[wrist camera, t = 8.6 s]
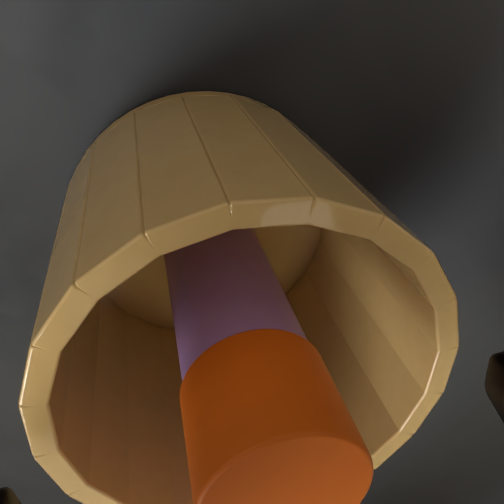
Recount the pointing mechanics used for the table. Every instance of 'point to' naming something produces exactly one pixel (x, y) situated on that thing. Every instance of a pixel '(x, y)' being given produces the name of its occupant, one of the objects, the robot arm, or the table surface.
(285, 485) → the glue stick
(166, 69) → the table surface
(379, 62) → the table surface
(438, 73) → the table surface
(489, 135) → the table surface
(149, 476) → the pen pot
